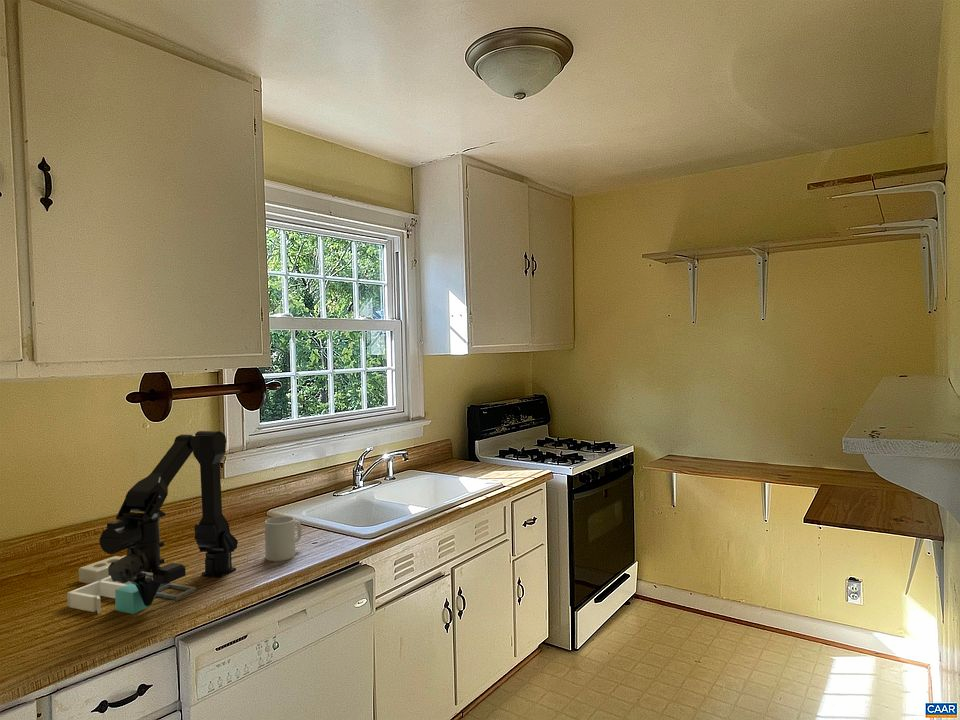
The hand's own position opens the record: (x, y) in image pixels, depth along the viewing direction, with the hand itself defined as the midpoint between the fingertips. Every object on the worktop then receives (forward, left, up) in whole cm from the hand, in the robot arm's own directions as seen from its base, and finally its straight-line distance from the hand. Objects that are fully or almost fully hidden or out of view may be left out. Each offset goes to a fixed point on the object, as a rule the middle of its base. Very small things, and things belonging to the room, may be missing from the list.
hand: (148, 605), depth 146 cm
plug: (0, -5, -2) cm, 6 cm away
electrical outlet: (-17, -31, -2) cm, 35 cm away
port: (-3, -16, -2) cm, 17 cm away
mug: (-43, +5, -2) cm, 44 cm away
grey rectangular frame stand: (-10, -3, -2) cm, 11 cm away
